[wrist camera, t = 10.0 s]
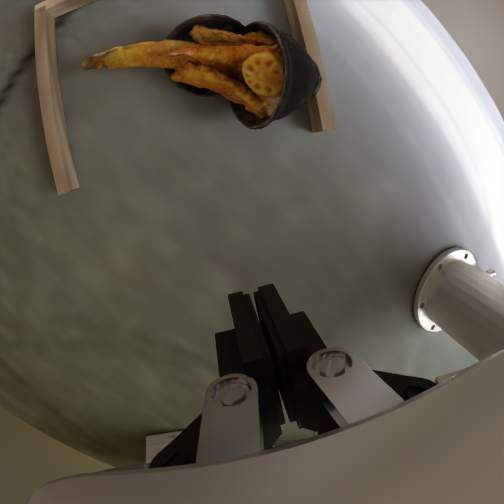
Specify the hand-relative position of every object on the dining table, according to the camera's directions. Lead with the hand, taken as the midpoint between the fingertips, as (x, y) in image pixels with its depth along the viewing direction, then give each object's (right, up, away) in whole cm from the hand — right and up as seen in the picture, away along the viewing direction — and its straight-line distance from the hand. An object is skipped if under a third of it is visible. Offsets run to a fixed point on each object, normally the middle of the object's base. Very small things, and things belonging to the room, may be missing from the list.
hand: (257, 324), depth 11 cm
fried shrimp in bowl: (-4, +18, +13) cm, 23 cm away
